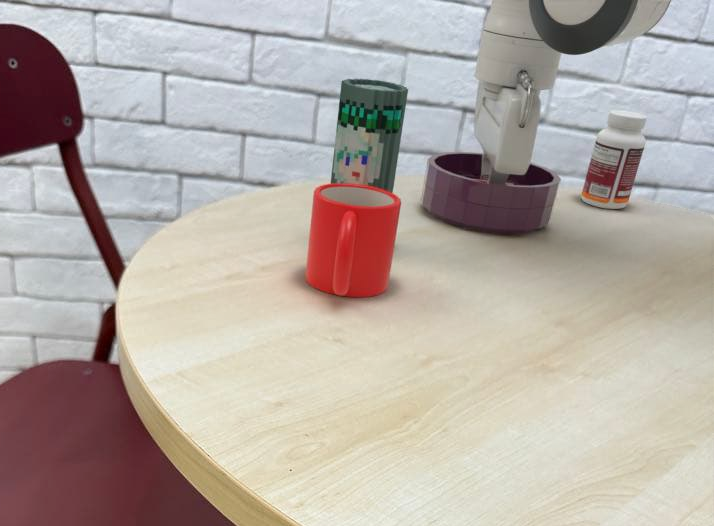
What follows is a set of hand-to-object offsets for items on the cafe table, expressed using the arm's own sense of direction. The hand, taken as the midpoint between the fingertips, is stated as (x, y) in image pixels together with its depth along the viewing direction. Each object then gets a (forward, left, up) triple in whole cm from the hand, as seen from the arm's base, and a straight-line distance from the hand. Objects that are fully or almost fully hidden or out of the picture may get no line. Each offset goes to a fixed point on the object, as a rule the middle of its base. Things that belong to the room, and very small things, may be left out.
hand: (488, 195), depth 101 cm
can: (+16, +16, -3) cm, 23 cm away
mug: (+17, +30, -3) cm, 34 cm away
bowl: (0, 0, -2) cm, 3 cm away
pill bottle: (-18, -13, -3) cm, 23 cm away
